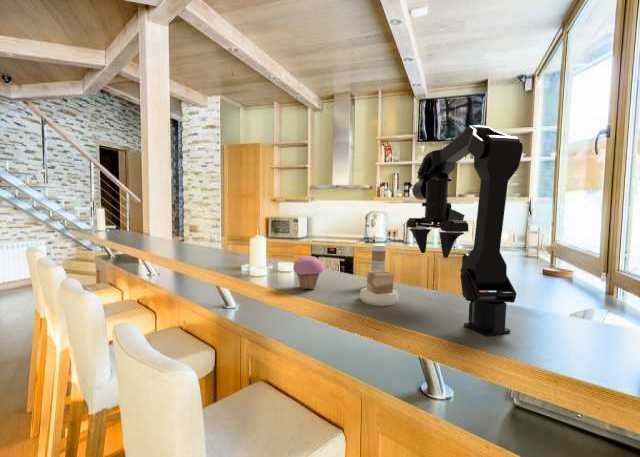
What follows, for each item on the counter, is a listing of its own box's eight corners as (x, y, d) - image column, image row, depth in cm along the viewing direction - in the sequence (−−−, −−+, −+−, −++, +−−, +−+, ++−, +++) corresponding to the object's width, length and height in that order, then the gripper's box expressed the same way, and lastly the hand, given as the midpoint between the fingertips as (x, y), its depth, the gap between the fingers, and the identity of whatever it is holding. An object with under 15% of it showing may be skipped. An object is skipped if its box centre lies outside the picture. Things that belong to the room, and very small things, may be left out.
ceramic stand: (405, 303, 88) (406, 294, 88) (372, 307, 85) (372, 297, 85) (384, 294, 98) (385, 285, 97) (353, 297, 94) (354, 288, 94)
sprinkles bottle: (376, 284, 110) (378, 243, 109) (387, 287, 107) (389, 244, 106) (367, 286, 107) (368, 244, 107) (378, 289, 104) (379, 245, 103)
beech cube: (392, 292, 90) (393, 274, 89) (376, 294, 88) (376, 275, 87) (382, 288, 94) (383, 270, 94) (366, 289, 92) (367, 271, 92)
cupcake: (321, 285, 107) (321, 254, 107) (323, 292, 99) (324, 258, 98) (293, 285, 107) (293, 253, 106) (292, 292, 98) (293, 257, 97)
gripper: (486, 199, 88) (482, 259, 89) (436, 200, 105) (434, 250, 106) (452, 198, 84) (449, 261, 85) (406, 199, 101) (404, 251, 102)
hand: (433, 255), depth 94 cm, fingers open, 9 cm apart
